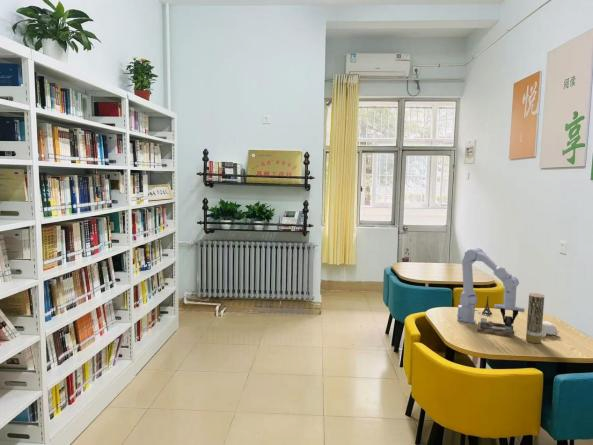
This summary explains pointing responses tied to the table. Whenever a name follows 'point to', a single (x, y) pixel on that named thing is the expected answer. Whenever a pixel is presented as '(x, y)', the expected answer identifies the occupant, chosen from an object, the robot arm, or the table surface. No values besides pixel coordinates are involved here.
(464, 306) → the robot arm
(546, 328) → the white curved shape
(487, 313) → the eiffel tower figurine
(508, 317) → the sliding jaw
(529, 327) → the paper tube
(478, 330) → the vise base
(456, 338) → the table surface
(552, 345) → the table surface
